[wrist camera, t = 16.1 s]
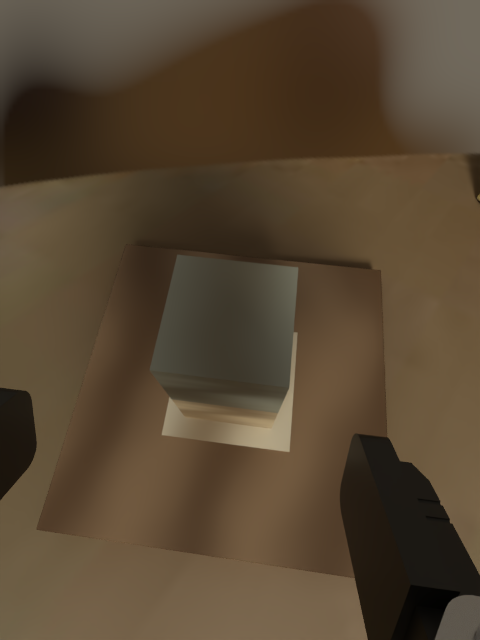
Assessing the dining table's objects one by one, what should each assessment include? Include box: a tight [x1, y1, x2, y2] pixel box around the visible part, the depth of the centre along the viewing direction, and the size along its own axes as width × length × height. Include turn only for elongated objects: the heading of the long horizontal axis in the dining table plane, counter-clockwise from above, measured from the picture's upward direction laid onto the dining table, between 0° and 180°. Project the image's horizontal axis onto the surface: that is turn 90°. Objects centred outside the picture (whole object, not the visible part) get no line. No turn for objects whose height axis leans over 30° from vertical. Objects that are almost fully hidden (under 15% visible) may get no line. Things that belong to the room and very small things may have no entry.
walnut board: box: [36, 244, 387, 578], centre depth 20 cm, size 16×16×2 cm
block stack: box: [150, 255, 298, 429], centre depth 16 cm, size 4×4×8 cm
